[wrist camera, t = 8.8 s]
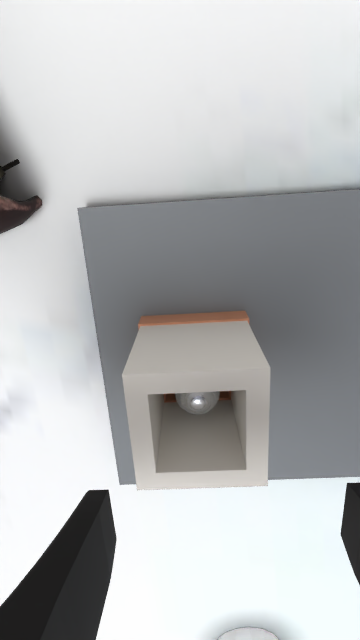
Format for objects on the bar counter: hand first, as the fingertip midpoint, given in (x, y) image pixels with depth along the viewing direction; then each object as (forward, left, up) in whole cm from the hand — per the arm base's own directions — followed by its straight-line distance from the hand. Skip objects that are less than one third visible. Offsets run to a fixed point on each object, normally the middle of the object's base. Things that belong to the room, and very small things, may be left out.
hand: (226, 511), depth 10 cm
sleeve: (+1, -1, -8) cm, 9 cm away
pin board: (-5, -1, -10) cm, 11 cm away
